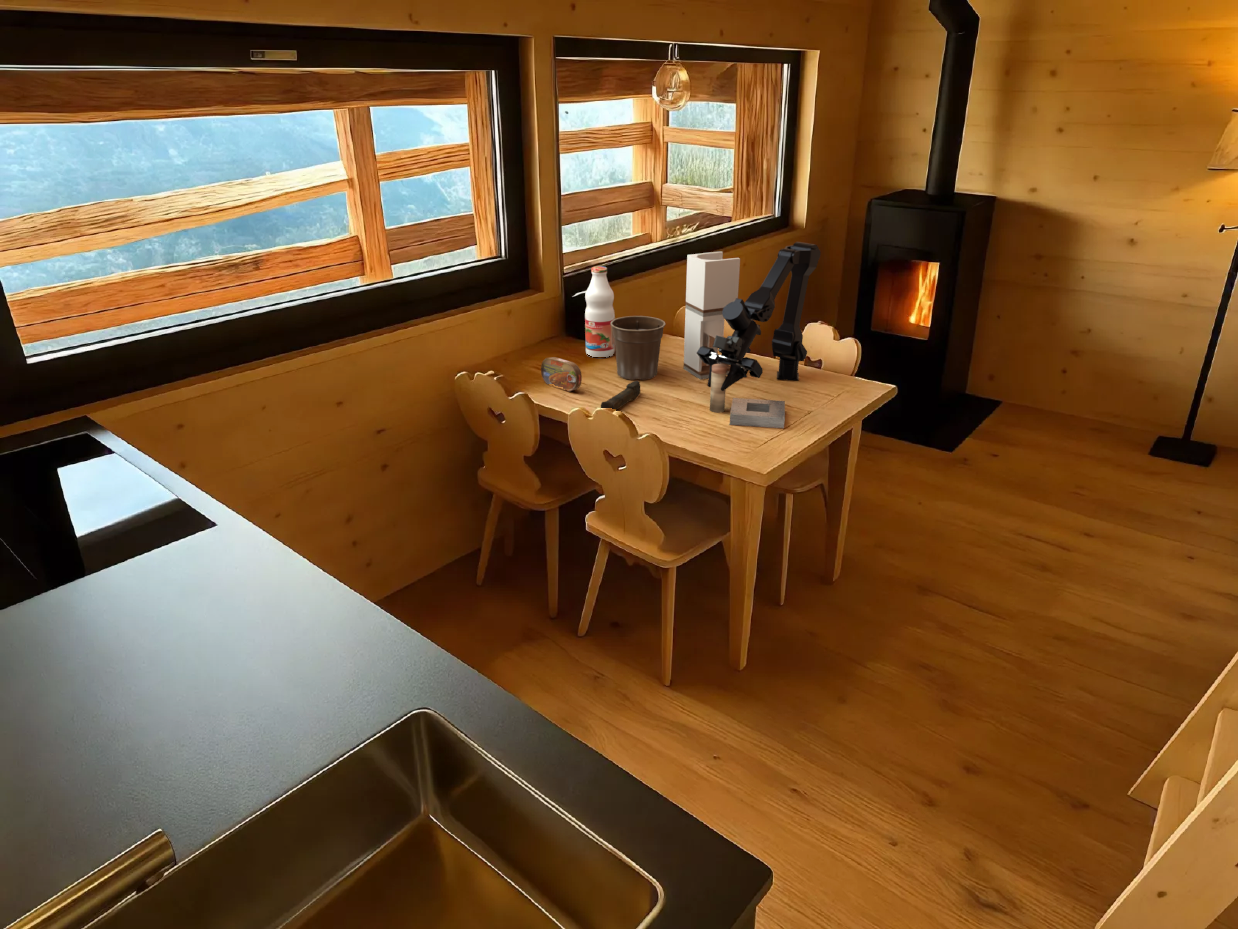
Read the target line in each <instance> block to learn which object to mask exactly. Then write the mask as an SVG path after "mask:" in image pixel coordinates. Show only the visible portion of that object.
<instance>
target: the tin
mask: <svg viewBox="0 0 1238 929" xmlns="http://www.w3.org/2000/svg"><path fill="white" fill-rule="evenodd" d="M540 372H541V377H542V379H543V381H544V382H545V384H547V385H548V384H554V385H555V386H558V387H563V389H565V390H567V391H566V392H572V391H574V390H577V389H579V388H580V387H581V385H582V381H583V380H582V379H583V377H582V371H581V368H580V367H579V365H577V363H575V362H573V361H569V360H566V359H563V358H559V357H555V356H553V357H552V356H551V357H546V358H545V359H543V361H542V363H541V365H540ZM565 390H564V391H565Z"/></svg>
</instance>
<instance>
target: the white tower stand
mask: <svg viewBox="0 0 1238 929" xmlns="http://www.w3.org/2000/svg"><path fill="white" fill-rule="evenodd" d="M723 253H724V251H713V252H712V251H711V252H703V253H695V254H694V253H693V254H692V253H691V254H687V257H686V260H687V261H686V285H685V287H686V288H685V313H684V315H685V316H684V317H685V320H684V340H683V342H684V347H683V348H684V349H683V370H684V371H686V372H688V373H689V374H690V375H692V376H694V377H696V378H697V379H699V380H706V379H709V372H710V365H708V364H705V363H704V362H703V361H702V360H701V358H700V357H699V356H698V355H697V351H698V350H699V348H700V347H702V346H705V347H709V348H713V349H714V351H715V352H716V353H717V354H718V353H719V351H718V350H719V348H717V347H713V344H714V340H715V337H716V335H717V336H721V337H724V334H725V333H724V332H725V318H724V317H723V315H722V311H723V308H724V307H725V306H726V305H727V304H729V303H731V302H734V301H735V299H736V298H738V299H739V285H740V284H739V283H740V268H741V267H740V265H741V258H739V257H733V258H723V256H724V255H723ZM718 355H719V354H718ZM721 364H724V363H721ZM724 365H726V366H727V374H726V376H727V375H728V373H729V371H730V366H731V365H728V364H724Z"/></svg>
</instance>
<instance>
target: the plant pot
mask: <svg viewBox="0 0 1238 929" xmlns="http://www.w3.org/2000/svg"><path fill="white" fill-rule="evenodd" d="M611 326H612V329H613V337H614V339H615V360H616V361H615V362H616V373H617V375H618V377H620V378H622V379H625V380H631V381H636V380H637V379H638V380H640V381H644V380H651V379H653V378H655V377H656V376H657V375H658V368H659V361H660V360H659V358H660V351H661V344H662V338H663V333H664V328H665V326H666V322H665V321H664V320H663V319H661V318H657V317H652V316H645V315H629V316H622V317H617V318H615V319H614V320H612V321H611Z"/></svg>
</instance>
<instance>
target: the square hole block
mask: <svg viewBox="0 0 1238 929" xmlns="http://www.w3.org/2000/svg"><path fill="white" fill-rule="evenodd" d="M731 400H732V401H731V407H730V413H729V425H730V426H740V427H741V426H743V427H757V428H773V429H784V428H785V419H786V411H785V410H786V401H785V400H775V399H759V398H757V399H756V398H743V397H742V398H739V397H732V399H731Z"/></svg>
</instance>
